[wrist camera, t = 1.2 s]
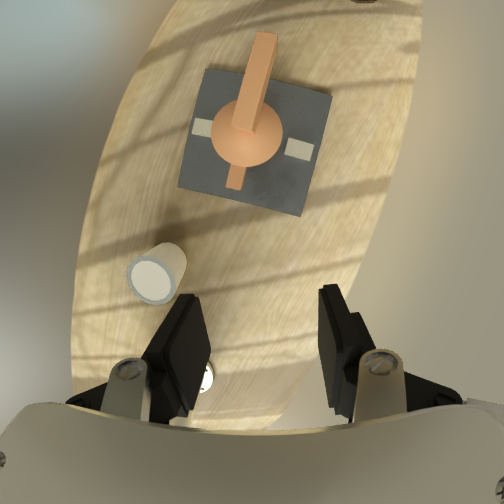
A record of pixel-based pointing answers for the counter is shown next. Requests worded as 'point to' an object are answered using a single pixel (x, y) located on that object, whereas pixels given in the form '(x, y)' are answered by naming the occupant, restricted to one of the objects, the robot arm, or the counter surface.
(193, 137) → the grey plate with posts
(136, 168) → the counter surface
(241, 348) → the counter surface
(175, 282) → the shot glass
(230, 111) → the orange lever handle
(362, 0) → the ceramic cup
